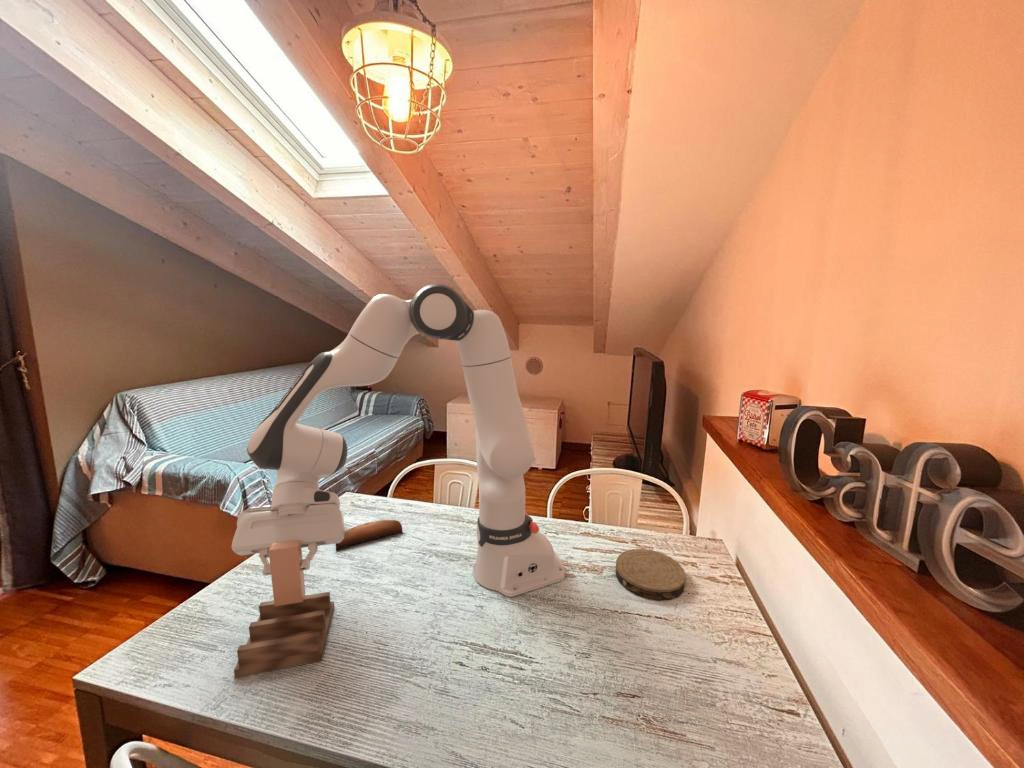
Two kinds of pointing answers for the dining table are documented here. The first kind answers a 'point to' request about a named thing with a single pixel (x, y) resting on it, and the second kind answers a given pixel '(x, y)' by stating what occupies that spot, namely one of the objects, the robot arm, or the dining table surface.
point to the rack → (286, 635)
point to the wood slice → (650, 574)
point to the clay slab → (287, 572)
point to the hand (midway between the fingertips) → (286, 572)
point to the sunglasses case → (369, 532)
